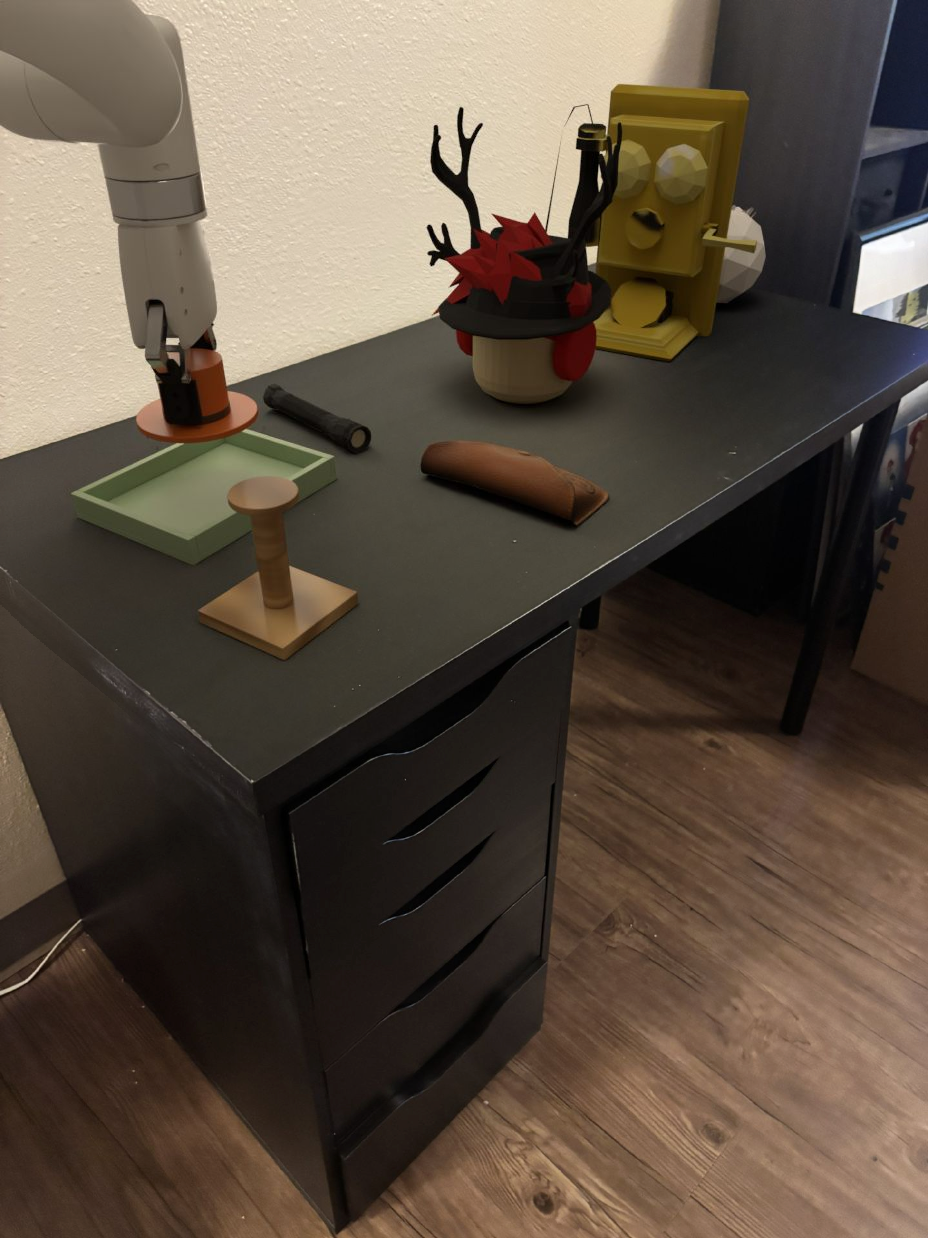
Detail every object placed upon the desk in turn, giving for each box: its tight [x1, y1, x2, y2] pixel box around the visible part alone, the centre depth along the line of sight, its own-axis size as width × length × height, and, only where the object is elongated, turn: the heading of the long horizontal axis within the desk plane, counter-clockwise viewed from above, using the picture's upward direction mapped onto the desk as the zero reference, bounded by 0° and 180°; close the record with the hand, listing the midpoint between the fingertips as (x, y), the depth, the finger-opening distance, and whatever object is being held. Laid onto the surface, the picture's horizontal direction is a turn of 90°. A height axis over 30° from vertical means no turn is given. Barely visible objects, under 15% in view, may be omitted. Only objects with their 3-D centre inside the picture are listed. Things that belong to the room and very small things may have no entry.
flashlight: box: [262, 383, 372, 454], centre depth 102 cm, size 3×16×3 cm, turn 44°
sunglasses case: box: [419, 440, 610, 526], centre depth 90 cm, size 18×7×7 cm
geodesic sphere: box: [716, 204, 767, 304], centre depth 138 cm, size 15×14×14 cm
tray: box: [70, 428, 337, 566], centre depth 89 cm, size 20×16×3 cm
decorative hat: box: [426, 106, 622, 405], centre depth 103 cm, size 23×21×30 cm
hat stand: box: [197, 476, 359, 661], centre depth 70 cm, size 9×9×11 cm
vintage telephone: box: [544, 83, 757, 363], centre depth 119 cm, size 31×14×30 cm, turn 61°
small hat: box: [135, 348, 259, 444], centre depth 83 cm, size 11×11×6 cm
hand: (195, 406), depth 84 cm, fingers closed on small hat, 6 cm apart
